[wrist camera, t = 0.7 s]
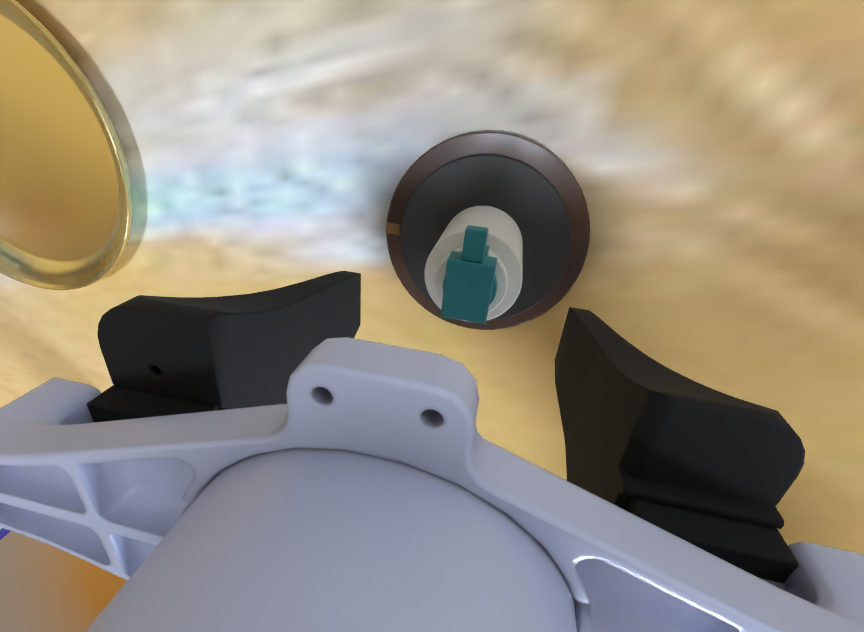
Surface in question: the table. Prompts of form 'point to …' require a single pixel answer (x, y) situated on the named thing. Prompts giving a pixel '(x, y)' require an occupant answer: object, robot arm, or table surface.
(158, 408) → the robot arm
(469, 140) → the turntable base
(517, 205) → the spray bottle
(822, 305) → the table surface
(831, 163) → the table surface
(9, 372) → the table surface
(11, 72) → the serving platter
